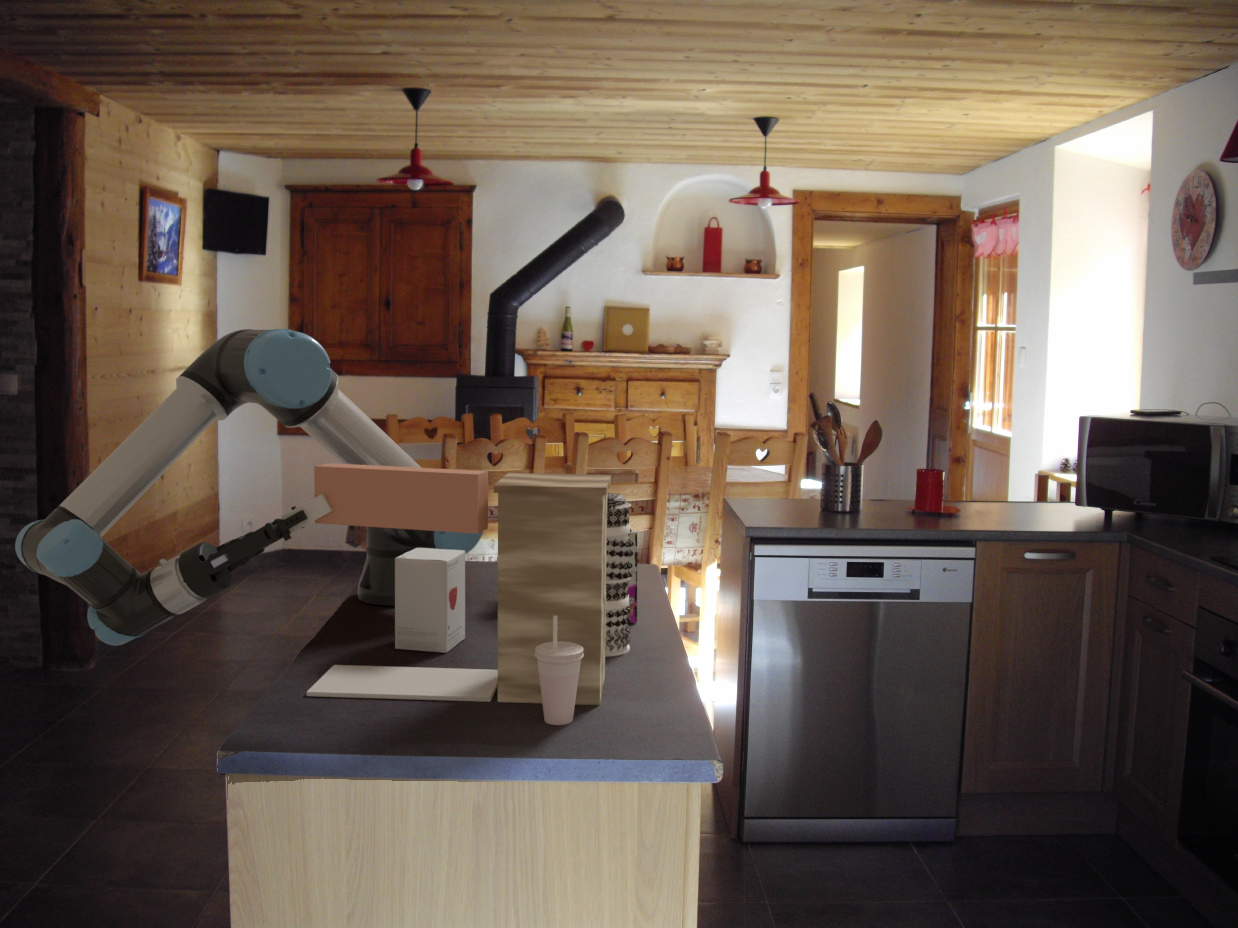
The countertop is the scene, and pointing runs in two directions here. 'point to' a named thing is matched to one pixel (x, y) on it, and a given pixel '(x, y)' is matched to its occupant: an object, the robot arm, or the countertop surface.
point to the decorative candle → (617, 576)
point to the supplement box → (429, 599)
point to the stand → (551, 578)
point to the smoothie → (558, 677)
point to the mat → (407, 683)
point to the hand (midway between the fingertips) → (332, 499)
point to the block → (404, 497)
